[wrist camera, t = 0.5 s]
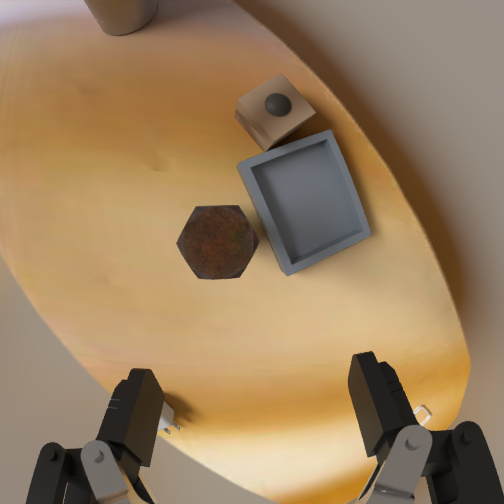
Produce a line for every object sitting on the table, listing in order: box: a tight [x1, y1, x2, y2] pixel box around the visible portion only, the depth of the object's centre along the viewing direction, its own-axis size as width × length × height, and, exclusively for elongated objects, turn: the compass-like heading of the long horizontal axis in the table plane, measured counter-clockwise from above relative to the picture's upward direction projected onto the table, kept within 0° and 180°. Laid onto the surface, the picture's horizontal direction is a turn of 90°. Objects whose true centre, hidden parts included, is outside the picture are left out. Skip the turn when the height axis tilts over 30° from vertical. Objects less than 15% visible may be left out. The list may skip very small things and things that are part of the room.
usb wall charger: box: [157, 401, 180, 434], centre depth 35 cm, size 4×7×4 cm, turn 32°
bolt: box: [176, 205, 260, 280], centre depth 26 cm, size 6×5×15 cm
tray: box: [237, 129, 372, 276], centre depth 33 cm, size 14×12×3 cm
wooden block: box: [235, 73, 316, 152], centre depth 29 cm, size 6×6×6 cm
